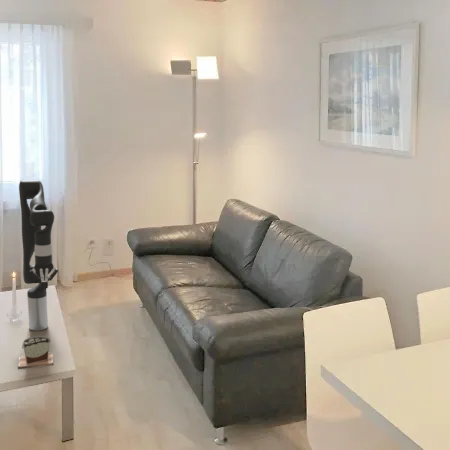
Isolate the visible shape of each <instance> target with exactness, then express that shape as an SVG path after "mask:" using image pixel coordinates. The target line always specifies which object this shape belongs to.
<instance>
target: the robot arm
mask: <svg viewBox="0 0 450 450" xmlns="http://www.w3.org/2000/svg"><path fill="white" fill-rule="evenodd" d="M18 194H19V201H20V203H19V205H20V212H21V239H22V252H23V253H22V254H23V256H22V257H23V258H22V260H23V262H22V263H23V265H22V267H23V268H22V269H23V271H22V275H23V276H22V277H23V281H24V283H25V284H27V285H29V284H31V285H32V284H37V285H36V286H33V287H31V288H29V289H28V290H27V295H26V296H27V313H28V314H27V315H28V316H27V317H28V328H29V330H31V331H43V330H45V329H47V328H48V327H49V326H48V324H49V322H48V321H49V320H48V298H47V297H48V296H47V289H48V288H49V283H48V282H49V281H52V280H53V279H54V278H55V276H56V275H57V273H58V272H59V268H56V267H55V266H54V264H53V248H52V247H53V246H52V236H51V234H52V229H53V225H54V222H55V214H54V212H53V211H52V210H51V209H48V207H47V205H46V202H45V192H44V186H43V183H42V181H40V180H37V179H36V180H35V179H34V180H32V179H31V180H20V181H19V184H18ZM28 200H30V203H28ZM44 226H45V227H44ZM42 227H44V228H43V229H42ZM33 255H34V264H31V260H32V257H33ZM50 273H51V274H50Z"/></svg>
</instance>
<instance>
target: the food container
mask: <svg viewBox="0 0 450 450" xmlns="http://www.w3.org/2000/svg"><path fill="white" fill-rule="evenodd" d="M50 343H51V340H50V337H48V336H44V335H35V336H34V335H33V336H30V337H28V338H26V339H24V340H23V342H22V347H21V348H22V349H24V356H25V357H26V363H27V364H31V363H35V362H39V361H44V360H48V353H50V352H49V351H50Z"/></svg>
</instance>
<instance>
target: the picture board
mask: <svg viewBox="0 0 450 450" xmlns="http://www.w3.org/2000/svg"><path fill="white" fill-rule="evenodd" d="M17 362H18V365H17V369H18V370H19V369H27V368H29V369H30V368H37V367H38V368H39V367H47V366H54V353H53V352H49V353H48V360H44V361H39V362H35V363H31V364H27V363H26V357H25V355H19V356H18V360H17Z"/></svg>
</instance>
